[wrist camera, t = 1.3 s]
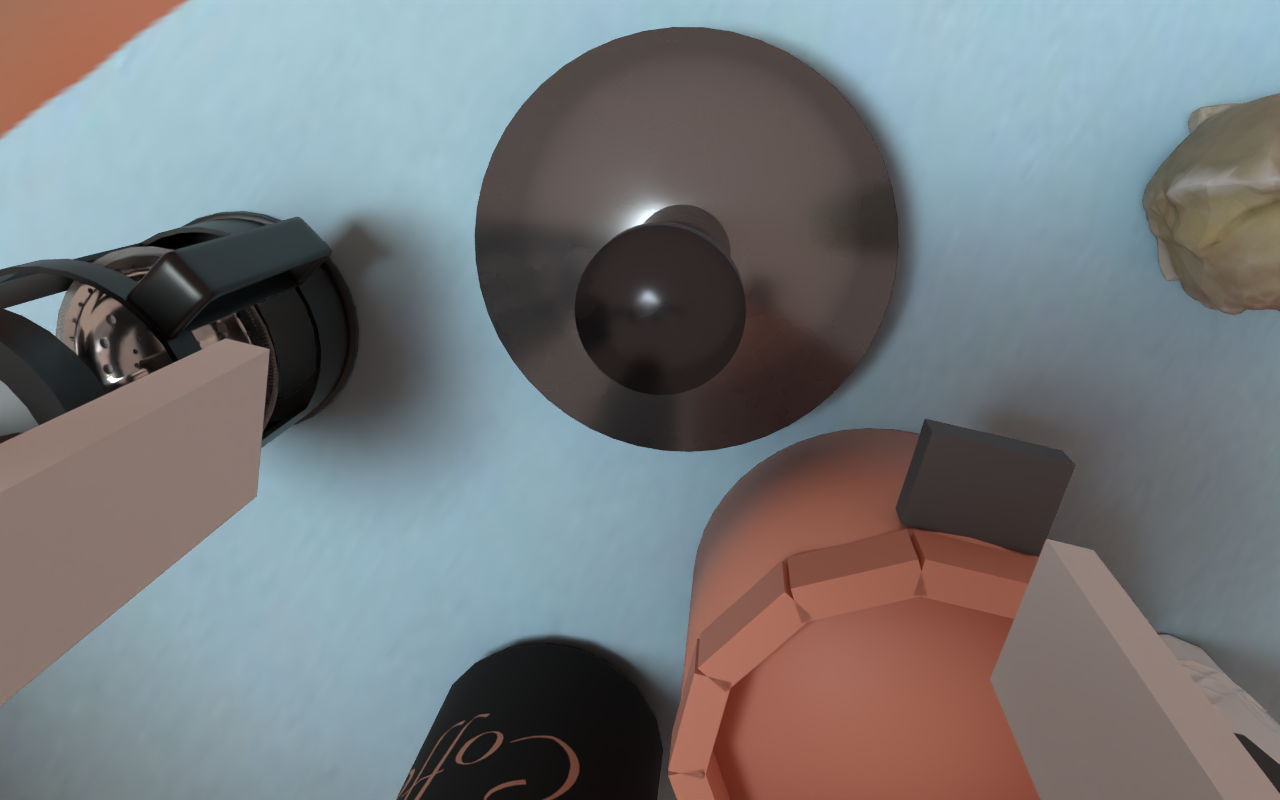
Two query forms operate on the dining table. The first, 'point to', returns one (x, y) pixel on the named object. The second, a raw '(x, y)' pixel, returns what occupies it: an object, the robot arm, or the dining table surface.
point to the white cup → (1228, 697)
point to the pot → (863, 619)
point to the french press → (172, 316)
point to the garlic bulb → (1222, 207)
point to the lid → (686, 239)
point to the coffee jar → (540, 733)
